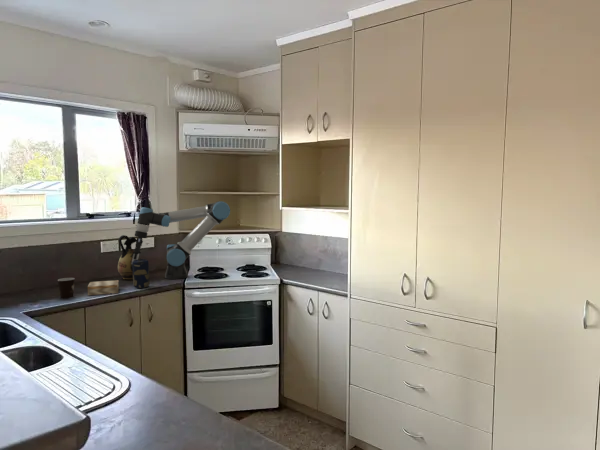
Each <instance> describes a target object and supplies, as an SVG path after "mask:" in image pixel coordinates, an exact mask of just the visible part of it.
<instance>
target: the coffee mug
mask: <svg viewBox="0 0 600 450" xmlns="http://www.w3.org/2000/svg"><path fill="white" fill-rule="evenodd" d="M57 284H58V290H59V295H60V299H69V298H72V297H74V291H75V277H64V278H59V279H57Z"/></svg>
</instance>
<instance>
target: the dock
mask: <svg viewBox="0 0 600 450" xmlns="http://www.w3.org/2000/svg"><path fill="white" fill-rule="evenodd" d="M119 282H120V281H119V280H118V279H116V280H100V281H90V282H89V283H88V285H87V296H97V295H110V293H112V294H118V293H119V290H120V285H119V284H120V283H119Z"/></svg>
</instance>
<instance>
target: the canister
mask: <svg viewBox="0 0 600 450" xmlns="http://www.w3.org/2000/svg"><path fill="white" fill-rule="evenodd" d="M132 267H133V279H132V281H133V287H134V288H137V289H141V288H148V287H149V286H150V285H151V284H150V269H149V267H150V265H149V260H148V259H146V258H145V259H144V258H139V259H138V260H134V261H133V262H132Z"/></svg>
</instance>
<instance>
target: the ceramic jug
mask: <svg viewBox="0 0 600 450" xmlns="http://www.w3.org/2000/svg"><path fill="white" fill-rule="evenodd" d="M123 239H125V241H124V242H122V240H123ZM136 240H137V238H135V236H134V237H133V236H132V237H129V236H128V235H125V234H122V235H121V236H119V238H118V244H119V246H120V249H121V255H120V257H119V260H118V263H117V271H118V274H120V276H121V277H122V279H123V280H133V267H132V264H131V263H132V259H133V255H134V254H133V252H134V251H135V249H133V248H132V245H133V244H135V243H136ZM124 246H125V247H124ZM139 257H140V256H139ZM139 257H138V259H140V258H139Z"/></svg>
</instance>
